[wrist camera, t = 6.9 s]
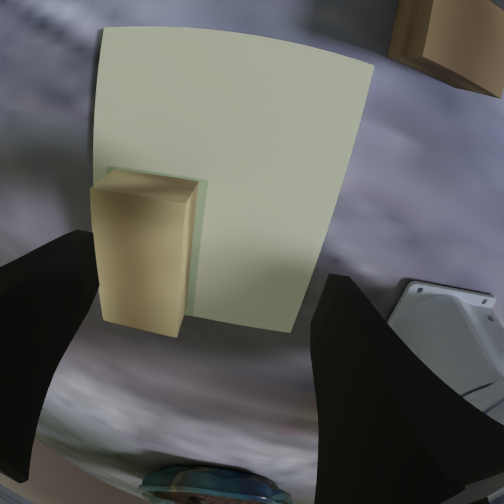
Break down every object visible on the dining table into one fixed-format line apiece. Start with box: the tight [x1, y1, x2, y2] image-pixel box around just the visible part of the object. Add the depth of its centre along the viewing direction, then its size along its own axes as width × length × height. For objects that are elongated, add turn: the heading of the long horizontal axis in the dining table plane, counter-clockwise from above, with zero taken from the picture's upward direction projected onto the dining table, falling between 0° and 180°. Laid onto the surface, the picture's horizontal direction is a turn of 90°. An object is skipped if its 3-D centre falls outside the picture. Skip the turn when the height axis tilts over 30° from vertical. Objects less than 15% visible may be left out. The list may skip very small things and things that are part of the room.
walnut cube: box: [387, 0, 504, 99], centre depth 10 cm, size 4×4×4 cm
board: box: [93, 26, 374, 333], centre depth 18 cm, size 14×18×1 cm
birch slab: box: [90, 169, 199, 338], centre depth 18 cm, size 5×9×3 cm, turn 169°
